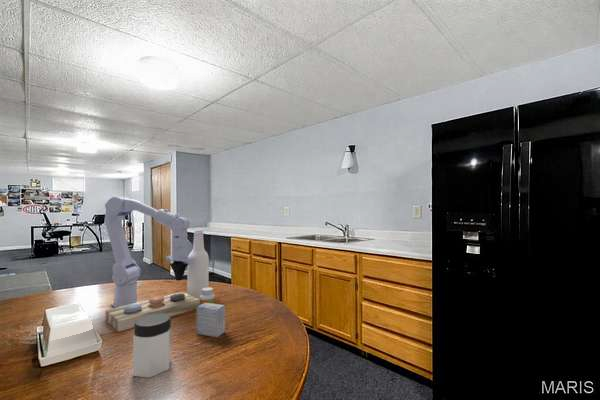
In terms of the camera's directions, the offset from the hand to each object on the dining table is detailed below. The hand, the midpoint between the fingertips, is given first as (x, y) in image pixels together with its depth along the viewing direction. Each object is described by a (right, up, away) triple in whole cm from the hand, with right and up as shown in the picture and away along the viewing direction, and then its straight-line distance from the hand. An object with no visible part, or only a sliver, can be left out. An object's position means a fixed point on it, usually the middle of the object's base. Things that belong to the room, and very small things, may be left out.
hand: (179, 280), depth 113 cm
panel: (-5, -10, -9) cm, 14 cm away
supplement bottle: (+15, -10, -10) cm, 21 cm away
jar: (+13, -9, -44) cm, 47 cm away
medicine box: (+21, -10, -25) cm, 34 cm away
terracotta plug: (-4, -9, -10) cm, 14 cm away
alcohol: (+4, -11, +9) cm, 15 cm away
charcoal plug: (+1, -10, -4) cm, 11 cm away
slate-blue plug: (-9, -9, -16) cm, 21 cm away
